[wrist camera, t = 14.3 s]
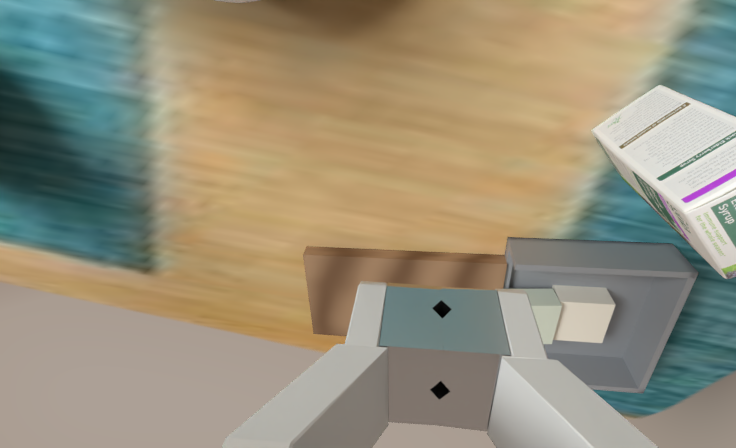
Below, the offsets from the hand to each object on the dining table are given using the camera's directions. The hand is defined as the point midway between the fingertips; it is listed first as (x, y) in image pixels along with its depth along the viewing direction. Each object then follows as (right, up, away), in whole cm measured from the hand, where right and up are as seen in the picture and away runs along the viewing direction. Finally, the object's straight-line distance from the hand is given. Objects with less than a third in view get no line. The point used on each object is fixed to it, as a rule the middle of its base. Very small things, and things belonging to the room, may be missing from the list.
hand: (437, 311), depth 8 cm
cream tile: (+20, -7, +35) cm, 40 cm away
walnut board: (+2, -6, +37) cm, 38 cm away
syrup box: (+21, +9, +26) cm, 34 cm away
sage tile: (+14, -7, +35) cm, 38 cm away
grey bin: (+19, -6, +35) cm, 41 cm away
